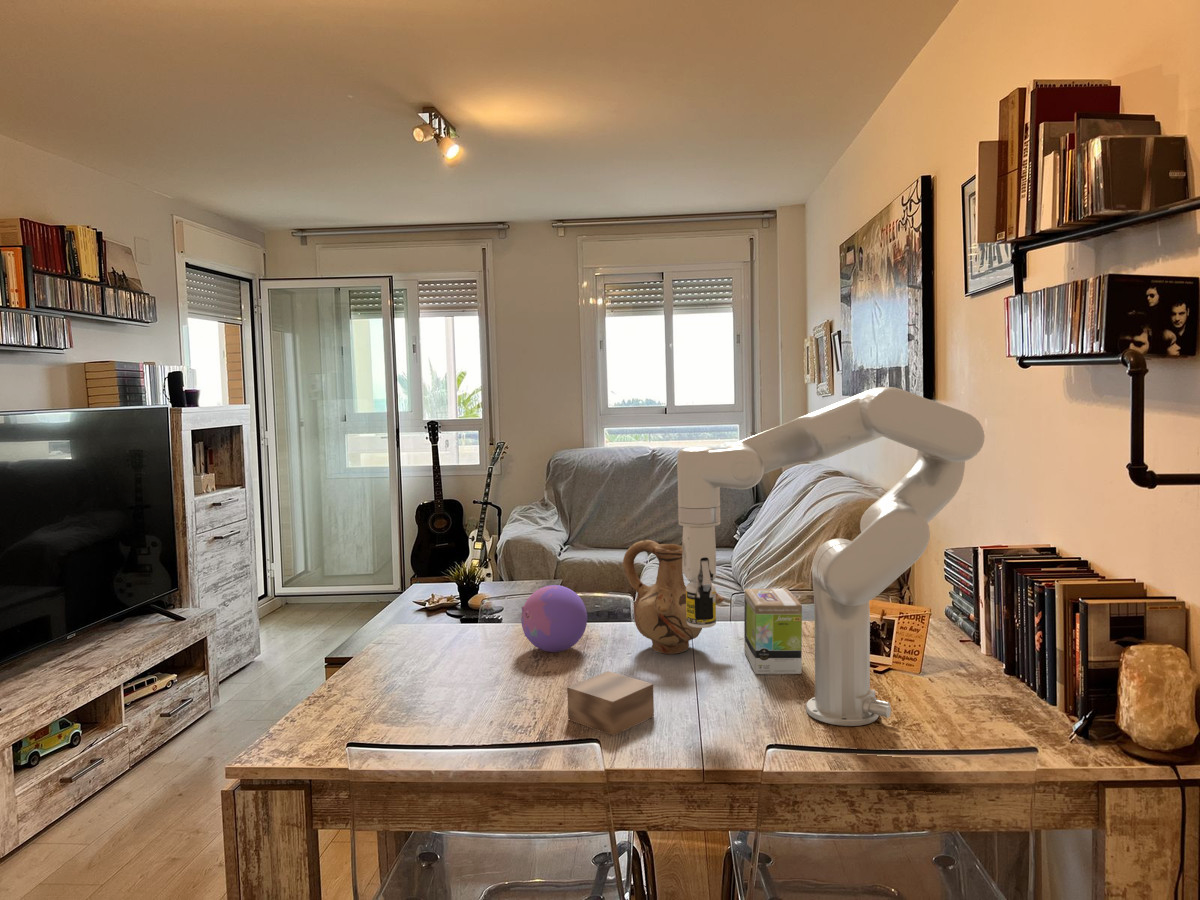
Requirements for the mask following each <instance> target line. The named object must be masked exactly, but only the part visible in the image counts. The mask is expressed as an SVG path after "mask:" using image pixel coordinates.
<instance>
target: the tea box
mask: <svg viewBox="0 0 1200 900" xmlns="http://www.w3.org/2000/svg"><path fill="white" fill-rule="evenodd" d="M743 603H744V604H743V605H744V609H743V611H744V618H743V619H744V620H743V622H744V623H743V625H744V630H743V631H744V632H743V633H744V640H743V641H744V642H743V643H744V648H743V650H744V653H745V656H746V657H747V661H748V662H749V664H750V666H751V668H752V671H753V672H754V674H755V675H801V674H802V671H803V670H802V669H803V668H802V661H803V660H802V659H803V658H802V657H803V655H802V651H803V648H802V647H803V645H802V643H803V642H802V641H803V640H802V639H803V638H802V637H803V636H802V635H803V605H802V604H801V602H800V601H799V600H798V599H797V598H796V596H795V595H794V594H792V591H790V590H789V589H788V588H745V589H744V602H743Z"/></svg>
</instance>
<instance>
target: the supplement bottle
mask: <svg viewBox="0 0 1200 900" xmlns="http://www.w3.org/2000/svg"><path fill="white" fill-rule="evenodd" d="M698 580H702V577H698ZM711 583H712V597H713V619H709V620H696V619H695V597H696V585H695V580H693V581H692V582H690V581H689V583H687V584H686V585H685V586H686V620H687V624H688V625H689V626H691V627H696V628H702V629H707V628H712V627H714V626H716V623H717V604H716V593H717V591H716V585H715V584H714V583H713V582H711ZM701 585H702V584H699V588H700V586H701Z"/></svg>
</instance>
